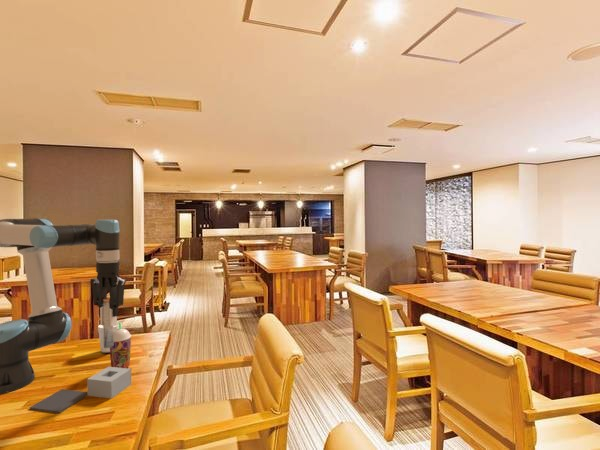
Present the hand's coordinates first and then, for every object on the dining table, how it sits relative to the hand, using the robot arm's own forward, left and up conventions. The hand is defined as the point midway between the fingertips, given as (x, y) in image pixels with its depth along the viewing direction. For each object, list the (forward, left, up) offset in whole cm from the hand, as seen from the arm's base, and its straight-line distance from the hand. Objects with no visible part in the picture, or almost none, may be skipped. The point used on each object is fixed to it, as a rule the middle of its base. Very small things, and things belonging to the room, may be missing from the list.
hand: (108, 324), depth 122 cm
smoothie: (-8, +15, -25) cm, 30 cm away
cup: (-27, +31, -25) cm, 48 cm away
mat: (-11, -10, -24) cm, 29 cm away
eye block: (0, 0, -24) cm, 24 cm away
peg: (0, 0, -8) cm, 8 cm away
